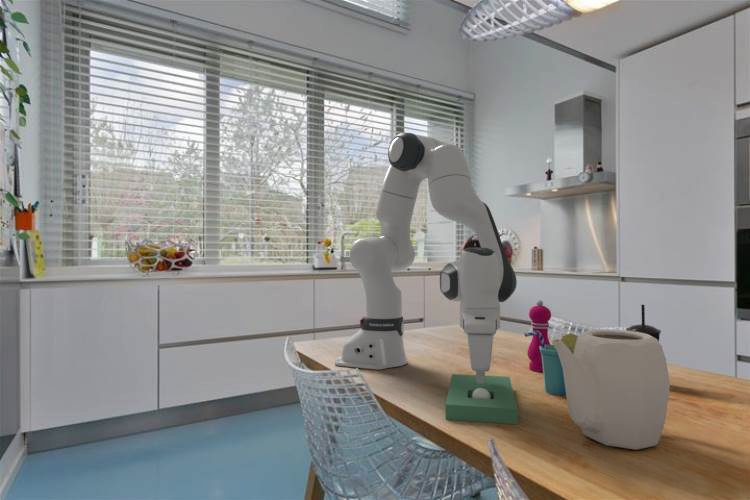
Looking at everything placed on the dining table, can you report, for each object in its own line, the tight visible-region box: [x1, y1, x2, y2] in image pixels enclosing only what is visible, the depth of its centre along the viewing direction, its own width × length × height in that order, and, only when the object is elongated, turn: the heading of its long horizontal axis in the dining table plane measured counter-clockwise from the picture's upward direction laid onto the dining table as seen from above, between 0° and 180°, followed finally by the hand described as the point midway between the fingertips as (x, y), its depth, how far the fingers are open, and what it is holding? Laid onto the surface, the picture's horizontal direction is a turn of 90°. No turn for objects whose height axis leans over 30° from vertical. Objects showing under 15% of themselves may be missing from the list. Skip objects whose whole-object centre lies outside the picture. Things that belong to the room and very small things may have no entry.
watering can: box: [550, 328, 671, 451], centre depth 81 cm, size 16×27×19 cm, turn 111°
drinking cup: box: [626, 304, 662, 341], centre depth 116 cm, size 8×8×20 cm
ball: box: [472, 388, 491, 399], centre depth 98 cm, size 4×4×4 cm
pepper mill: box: [526, 299, 552, 373], centre depth 130 cm, size 7×7×20 cm
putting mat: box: [445, 373, 519, 425], centre depth 102 cm, size 14×24×3 cm, turn 167°
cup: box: [524, 330, 579, 397], centre depth 109 cm, size 14×8×15 cm, turn 99°
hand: (480, 381), depth 101 cm, fingers closed
